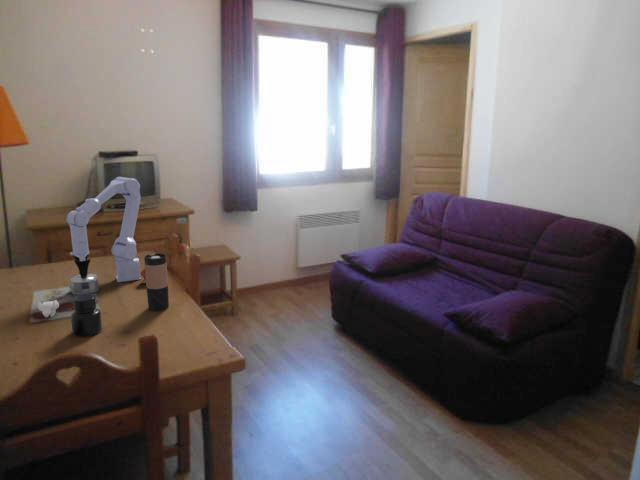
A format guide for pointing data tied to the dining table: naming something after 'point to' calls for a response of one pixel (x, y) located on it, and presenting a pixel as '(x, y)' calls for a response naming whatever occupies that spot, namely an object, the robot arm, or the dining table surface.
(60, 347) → the dining table surface
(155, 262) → the travel mug
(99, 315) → the ink bottle
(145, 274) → the red bell pepper
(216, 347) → the dining table surface
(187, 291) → the dining table surface
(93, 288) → the pot
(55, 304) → the elephant figurine
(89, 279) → the lid
